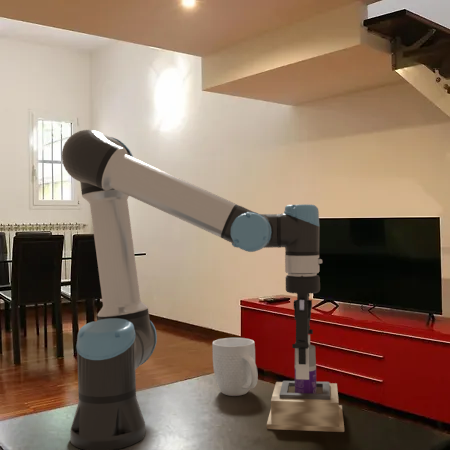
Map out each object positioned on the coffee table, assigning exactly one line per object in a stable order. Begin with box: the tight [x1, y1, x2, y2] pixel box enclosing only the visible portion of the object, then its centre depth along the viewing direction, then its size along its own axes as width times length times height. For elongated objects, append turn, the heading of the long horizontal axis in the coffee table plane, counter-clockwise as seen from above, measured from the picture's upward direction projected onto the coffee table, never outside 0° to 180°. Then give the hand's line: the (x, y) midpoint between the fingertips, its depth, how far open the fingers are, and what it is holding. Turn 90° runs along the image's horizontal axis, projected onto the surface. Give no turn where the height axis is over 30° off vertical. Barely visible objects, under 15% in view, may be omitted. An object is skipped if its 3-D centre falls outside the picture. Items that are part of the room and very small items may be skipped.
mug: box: [212, 337, 259, 397], centre depth 142 cm, size 15×11×13 cm
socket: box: [266, 380, 345, 433], centre depth 123 cm, size 16×14×7 cm
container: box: [294, 344, 317, 394], centre depth 123 cm, size 5×5×15 cm
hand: (303, 370), depth 123 cm, fingers open, 13 cm apart
